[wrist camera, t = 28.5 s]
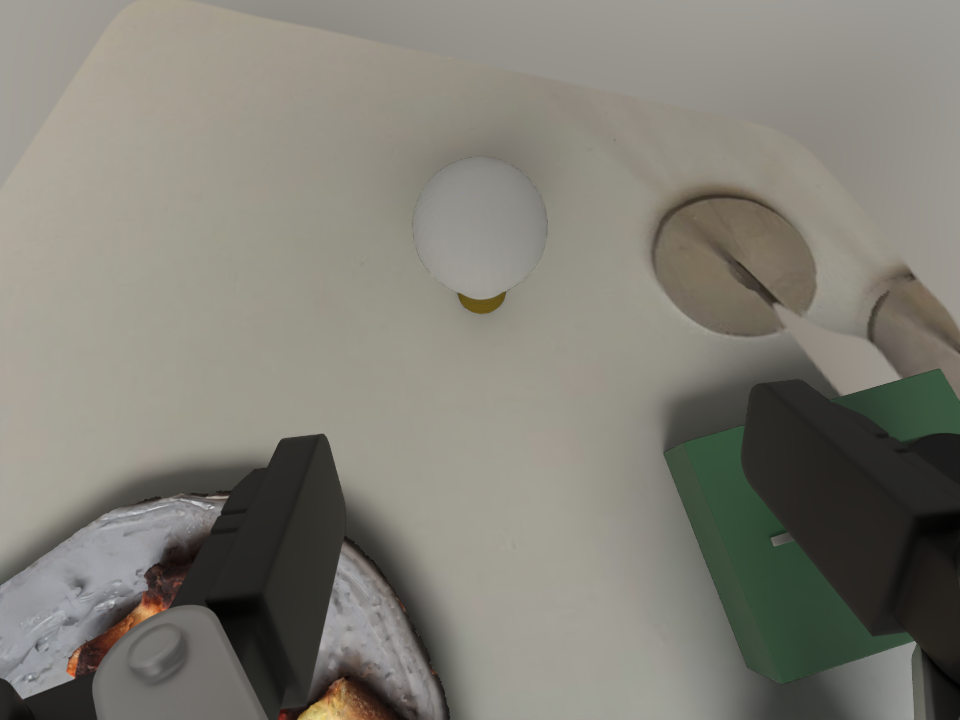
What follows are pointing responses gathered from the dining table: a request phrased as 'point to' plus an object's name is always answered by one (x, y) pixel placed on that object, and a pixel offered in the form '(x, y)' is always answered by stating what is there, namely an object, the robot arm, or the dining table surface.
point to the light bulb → (480, 229)
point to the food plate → (152, 587)
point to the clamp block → (791, 540)
